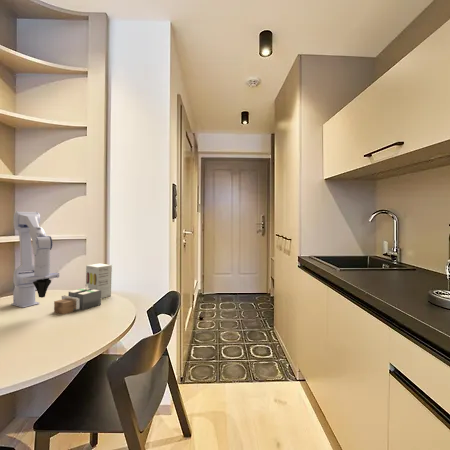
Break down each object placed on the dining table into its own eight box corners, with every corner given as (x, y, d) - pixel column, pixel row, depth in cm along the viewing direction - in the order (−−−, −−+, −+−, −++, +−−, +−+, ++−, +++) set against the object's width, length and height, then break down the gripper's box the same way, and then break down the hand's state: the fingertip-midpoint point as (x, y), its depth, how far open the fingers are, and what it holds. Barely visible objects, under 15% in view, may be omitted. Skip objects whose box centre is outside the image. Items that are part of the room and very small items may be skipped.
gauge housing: (83, 310, 144) (83, 294, 143) (68, 306, 148) (68, 291, 148) (100, 304, 153) (101, 289, 152) (86, 301, 157) (86, 287, 157)
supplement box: (84, 296, 166) (85, 265, 165) (99, 293, 174) (100, 263, 173) (97, 299, 161) (97, 266, 161) (111, 295, 169) (112, 264, 169)
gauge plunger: (76, 309, 140) (76, 289, 140) (61, 306, 145) (61, 287, 145) (95, 303, 150) (96, 285, 150) (81, 300, 154) (81, 282, 154)
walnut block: (54, 312, 140) (54, 301, 139) (64, 309, 144) (64, 298, 144) (63, 314, 137) (63, 303, 137) (73, 311, 141) (73, 300, 141)
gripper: (30, 268, 125) (30, 302, 125) (64, 263, 138) (63, 294, 138) (20, 266, 128) (19, 299, 128) (53, 262, 141) (53, 292, 141)
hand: (41, 297), depth 133 cm, fingers closed
